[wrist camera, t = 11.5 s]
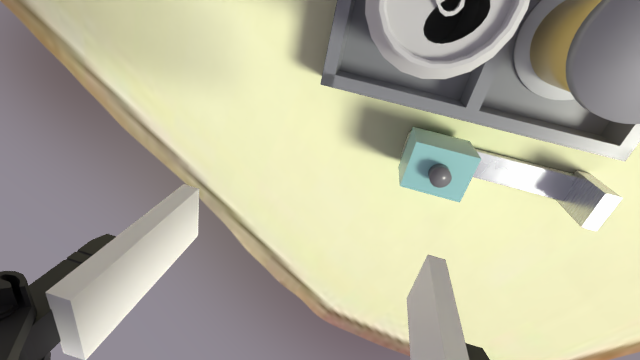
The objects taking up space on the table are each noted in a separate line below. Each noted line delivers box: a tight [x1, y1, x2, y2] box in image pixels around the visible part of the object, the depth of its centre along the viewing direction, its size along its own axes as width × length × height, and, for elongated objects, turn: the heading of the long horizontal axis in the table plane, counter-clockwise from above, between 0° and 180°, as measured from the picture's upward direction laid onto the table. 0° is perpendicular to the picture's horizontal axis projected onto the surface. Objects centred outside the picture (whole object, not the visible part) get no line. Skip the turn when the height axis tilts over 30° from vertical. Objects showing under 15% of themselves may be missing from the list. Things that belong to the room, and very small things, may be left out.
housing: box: [321, 0, 640, 161], centre depth 23 cm, size 14×24×3 cm, turn 78°
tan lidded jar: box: [530, 0, 640, 124], centre depth 20 cm, size 8×8×8 cm
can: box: [365, 0, 530, 79], centre depth 19 cm, size 8×8×12 cm
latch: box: [399, 127, 481, 202], centre depth 26 cm, size 4×5×5 cm
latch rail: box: [401, 131, 622, 231], centre depth 27 cm, size 3×16×4 cm, turn 78°
